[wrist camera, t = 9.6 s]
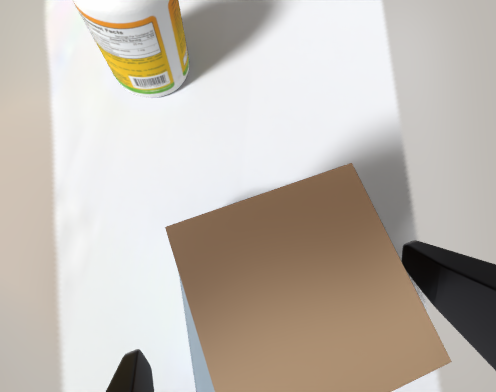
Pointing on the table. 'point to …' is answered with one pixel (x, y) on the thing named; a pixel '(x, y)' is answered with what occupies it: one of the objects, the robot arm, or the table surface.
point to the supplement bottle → (140, 42)
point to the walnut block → (303, 293)
